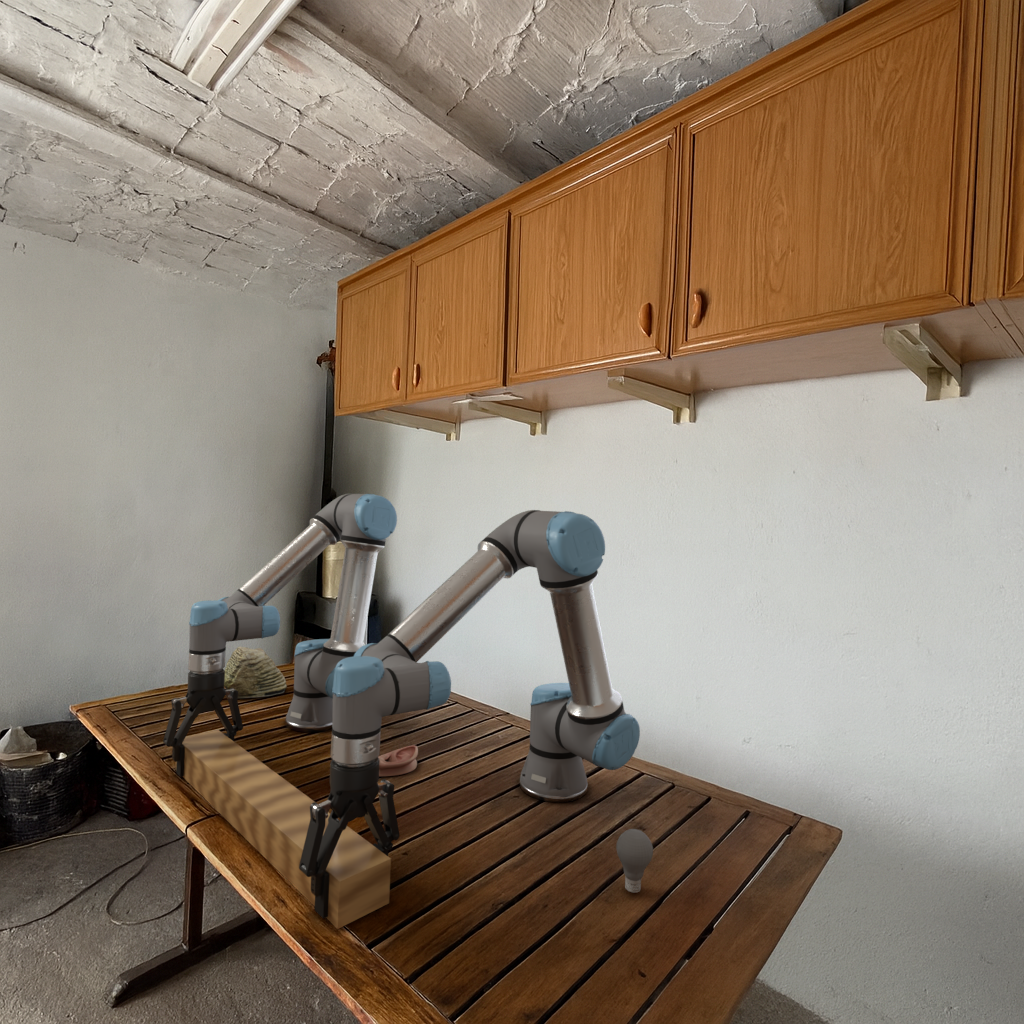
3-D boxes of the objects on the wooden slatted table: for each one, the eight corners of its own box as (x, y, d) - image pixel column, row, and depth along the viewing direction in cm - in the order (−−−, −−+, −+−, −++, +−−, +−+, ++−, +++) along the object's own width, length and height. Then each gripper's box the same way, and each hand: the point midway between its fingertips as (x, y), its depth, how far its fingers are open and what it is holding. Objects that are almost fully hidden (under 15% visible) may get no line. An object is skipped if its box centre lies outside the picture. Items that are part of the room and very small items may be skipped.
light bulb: (610, 879, 108) (613, 822, 108) (644, 879, 109) (647, 822, 109) (619, 902, 102) (622, 840, 102) (655, 901, 103) (658, 840, 103)
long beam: (175, 769, 143) (176, 738, 143) (216, 759, 150) (217, 729, 150) (337, 929, 93) (339, 881, 93) (389, 903, 100) (391, 858, 100)
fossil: (218, 695, 195) (220, 647, 195) (278, 685, 208) (279, 640, 207) (228, 703, 189) (230, 653, 188) (289, 692, 201) (290, 645, 201)
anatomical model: (351, 756, 145) (372, 738, 156) (350, 773, 145) (371, 754, 156) (406, 763, 142) (423, 744, 154) (405, 780, 143) (422, 760, 154)
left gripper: (159, 682, 133) (155, 788, 133) (261, 666, 148) (257, 761, 149) (148, 674, 138) (144, 776, 139) (248, 659, 154) (244, 751, 154)
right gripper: (301, 786, 89) (295, 944, 89) (425, 748, 104) (420, 882, 105) (277, 769, 94) (271, 918, 94) (399, 734, 110) (393, 863, 110)
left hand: (203, 768), depth 144 cm, fingers closed on long beam, 9 cm apart
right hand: (349, 899), depth 100 cm, fingers closed on long beam, 9 cm apart
